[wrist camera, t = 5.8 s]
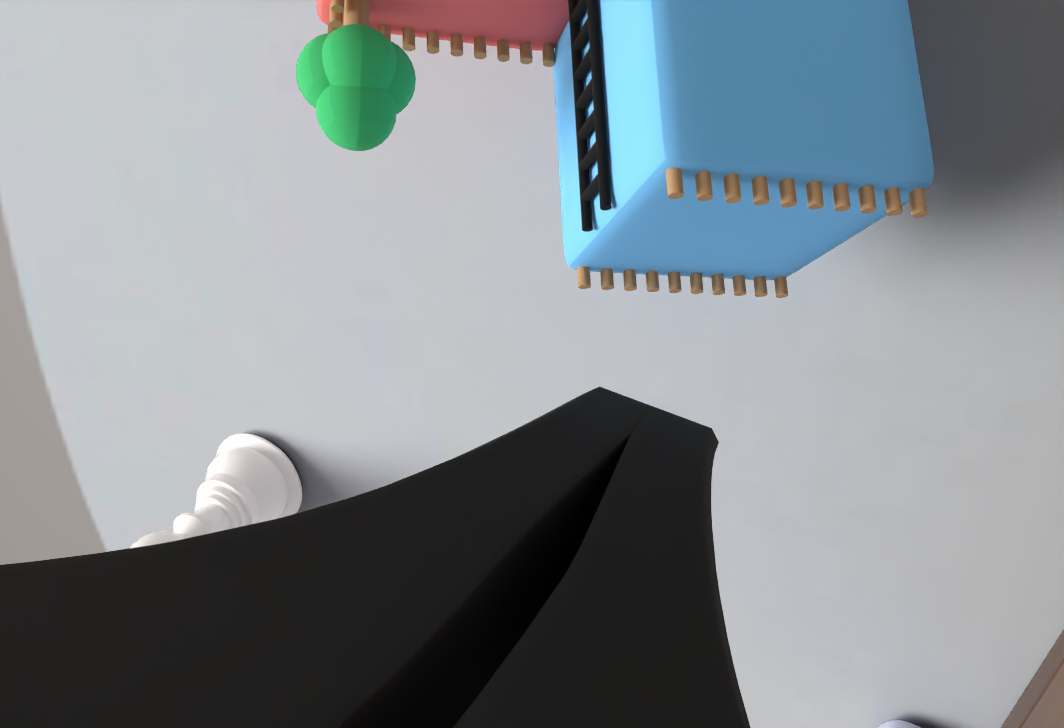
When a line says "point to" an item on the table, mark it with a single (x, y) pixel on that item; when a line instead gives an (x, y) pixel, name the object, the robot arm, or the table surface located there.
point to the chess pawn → (238, 491)
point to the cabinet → (1042, 695)
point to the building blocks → (673, 120)
